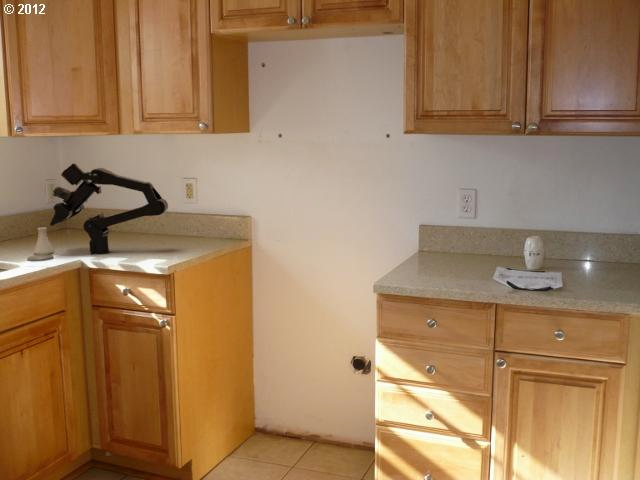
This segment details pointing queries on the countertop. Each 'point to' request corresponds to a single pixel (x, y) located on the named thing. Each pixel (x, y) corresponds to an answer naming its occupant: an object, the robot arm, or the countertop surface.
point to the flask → (43, 243)
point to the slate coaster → (40, 257)
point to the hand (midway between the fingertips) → (55, 223)
